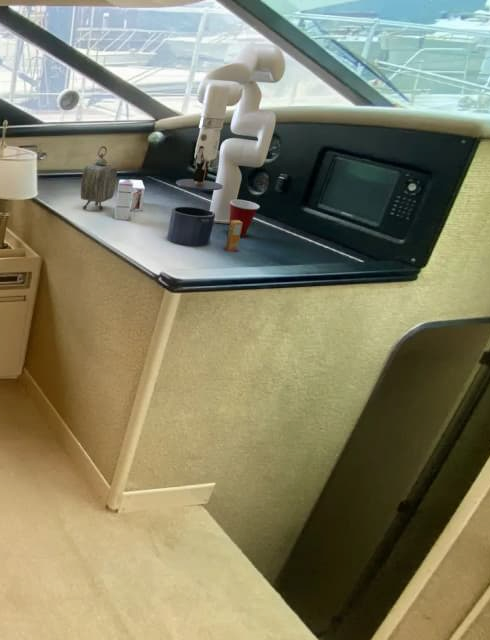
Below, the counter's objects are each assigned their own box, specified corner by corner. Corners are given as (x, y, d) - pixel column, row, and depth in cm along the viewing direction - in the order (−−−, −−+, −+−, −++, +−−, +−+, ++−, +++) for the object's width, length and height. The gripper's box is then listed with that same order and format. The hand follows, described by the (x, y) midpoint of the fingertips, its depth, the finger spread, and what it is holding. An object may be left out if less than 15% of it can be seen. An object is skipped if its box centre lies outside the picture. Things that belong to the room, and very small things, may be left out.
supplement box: (223, 248, 211) (230, 219, 206) (233, 248, 211) (240, 220, 207) (227, 251, 208) (234, 222, 203) (237, 251, 208) (244, 222, 204)
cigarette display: (126, 200, 272) (129, 179, 267) (138, 201, 271) (141, 180, 267) (128, 210, 254) (131, 188, 250) (141, 211, 254) (145, 189, 249)
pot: (194, 233, 227) (200, 205, 222) (219, 248, 210) (226, 218, 205) (158, 232, 225) (163, 204, 220) (180, 248, 207) (186, 218, 202)
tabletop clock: (94, 204, 262) (102, 143, 250) (113, 208, 257) (121, 146, 245) (78, 209, 251) (85, 146, 239) (97, 213, 247) (105, 149, 235)
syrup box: (128, 220, 240) (134, 182, 233) (113, 218, 240) (118, 181, 234) (128, 217, 245) (134, 180, 238) (114, 215, 245) (119, 179, 238)
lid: (209, 182, 217) (213, 163, 213) (230, 192, 203) (234, 172, 200) (168, 182, 214) (171, 162, 211) (187, 192, 201) (191, 171, 197)
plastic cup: (238, 239, 222) (246, 207, 216) (216, 232, 230) (223, 200, 224) (258, 237, 226) (266, 205, 221) (236, 230, 235) (244, 198, 229)
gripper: (214, 126, 191) (202, 186, 200) (229, 122, 203) (218, 179, 212) (191, 124, 195) (180, 182, 204) (208, 120, 206) (197, 175, 215)
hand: (200, 180), depth 208 cm, fingers closed on lid, 2 cm apart
